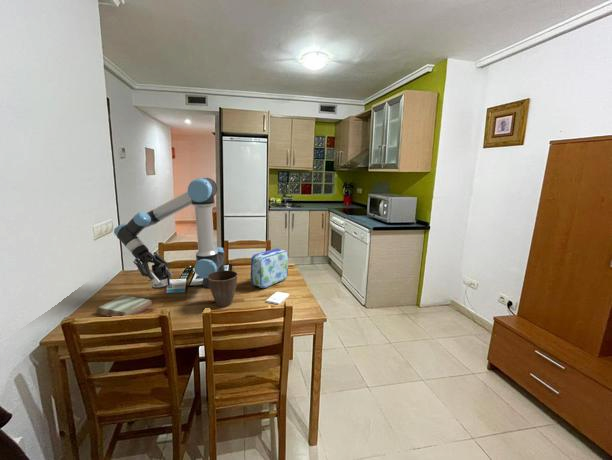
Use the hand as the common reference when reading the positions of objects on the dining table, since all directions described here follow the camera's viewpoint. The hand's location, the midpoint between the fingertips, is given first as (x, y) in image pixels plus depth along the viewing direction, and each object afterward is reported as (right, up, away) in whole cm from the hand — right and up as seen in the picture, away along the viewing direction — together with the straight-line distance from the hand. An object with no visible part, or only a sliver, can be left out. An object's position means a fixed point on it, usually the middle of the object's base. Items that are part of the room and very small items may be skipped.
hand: (165, 279), depth 152 cm
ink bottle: (-3, -4, +2) cm, 5 cm away
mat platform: (-15, -13, -9) cm, 22 cm away
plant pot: (+32, -13, -2) cm, 34 cm away
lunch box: (+53, -7, +27) cm, 60 cm away
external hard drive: (+60, -12, +5) cm, 61 cm away
